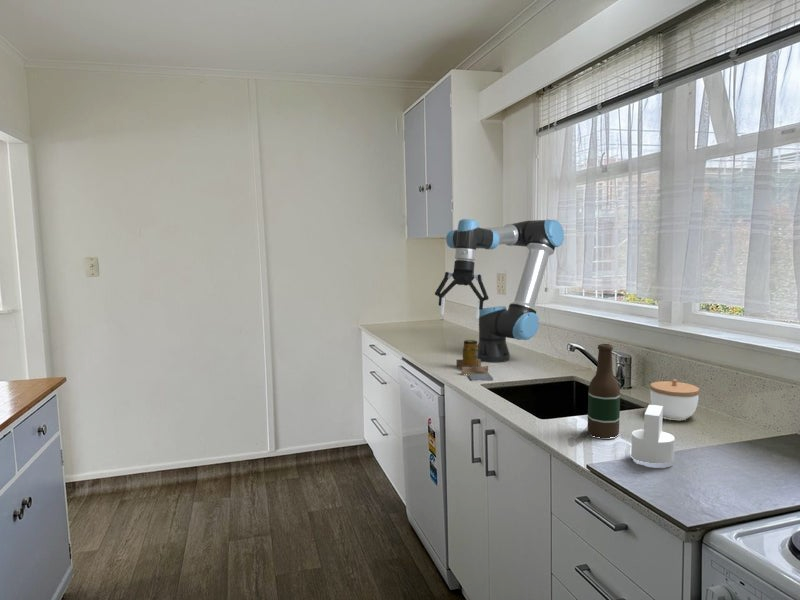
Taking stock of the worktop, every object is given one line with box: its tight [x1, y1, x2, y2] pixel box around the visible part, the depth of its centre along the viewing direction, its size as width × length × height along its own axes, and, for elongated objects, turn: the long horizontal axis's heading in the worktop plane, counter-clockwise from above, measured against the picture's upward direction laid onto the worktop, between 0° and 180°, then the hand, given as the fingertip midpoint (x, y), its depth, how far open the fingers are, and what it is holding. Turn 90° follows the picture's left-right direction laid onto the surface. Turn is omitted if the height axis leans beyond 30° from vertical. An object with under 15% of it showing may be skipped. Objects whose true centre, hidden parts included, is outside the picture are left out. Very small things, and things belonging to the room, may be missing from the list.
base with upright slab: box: [630, 404, 676, 463], centre depth 127 cm, size 9×9×12 cm
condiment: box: [462, 339, 478, 367], centre depth 222 cm, size 7×8×12 cm
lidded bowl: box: [649, 378, 700, 419], centre depth 159 cm, size 13×13×11 cm
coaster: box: [467, 372, 494, 381], centre depth 209 cm, size 8×8×1 cm
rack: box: [456, 358, 489, 376], centre depth 222 cm, size 10×15×3 cm, turn 3°
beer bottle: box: [587, 343, 621, 438], centre depth 144 cm, size 8×8×24 cm
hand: (459, 316), depth 210 cm, fingers open, 13 cm apart
